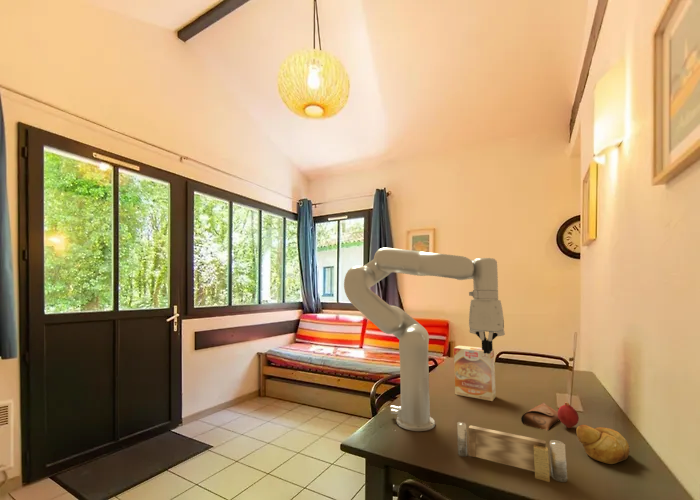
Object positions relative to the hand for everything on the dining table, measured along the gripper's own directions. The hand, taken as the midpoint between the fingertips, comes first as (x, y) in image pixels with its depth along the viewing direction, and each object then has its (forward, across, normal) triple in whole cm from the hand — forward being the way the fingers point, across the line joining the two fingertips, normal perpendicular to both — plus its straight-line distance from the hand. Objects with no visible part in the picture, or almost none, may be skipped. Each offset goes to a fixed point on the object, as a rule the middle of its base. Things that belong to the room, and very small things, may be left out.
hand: (487, 352), depth 108 cm
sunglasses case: (+25, +14, +20) cm, 35 cm away
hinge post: (+24, -3, -19) cm, 31 cm away
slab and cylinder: (+24, +17, -19) cm, 35 cm away
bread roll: (+24, +30, +1) cm, 38 cm away
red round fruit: (+24, +21, +17) cm, 36 cm away
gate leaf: (+24, +8, -19) cm, 31 cm away
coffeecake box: (+24, -12, +34) cm, 43 cm away
